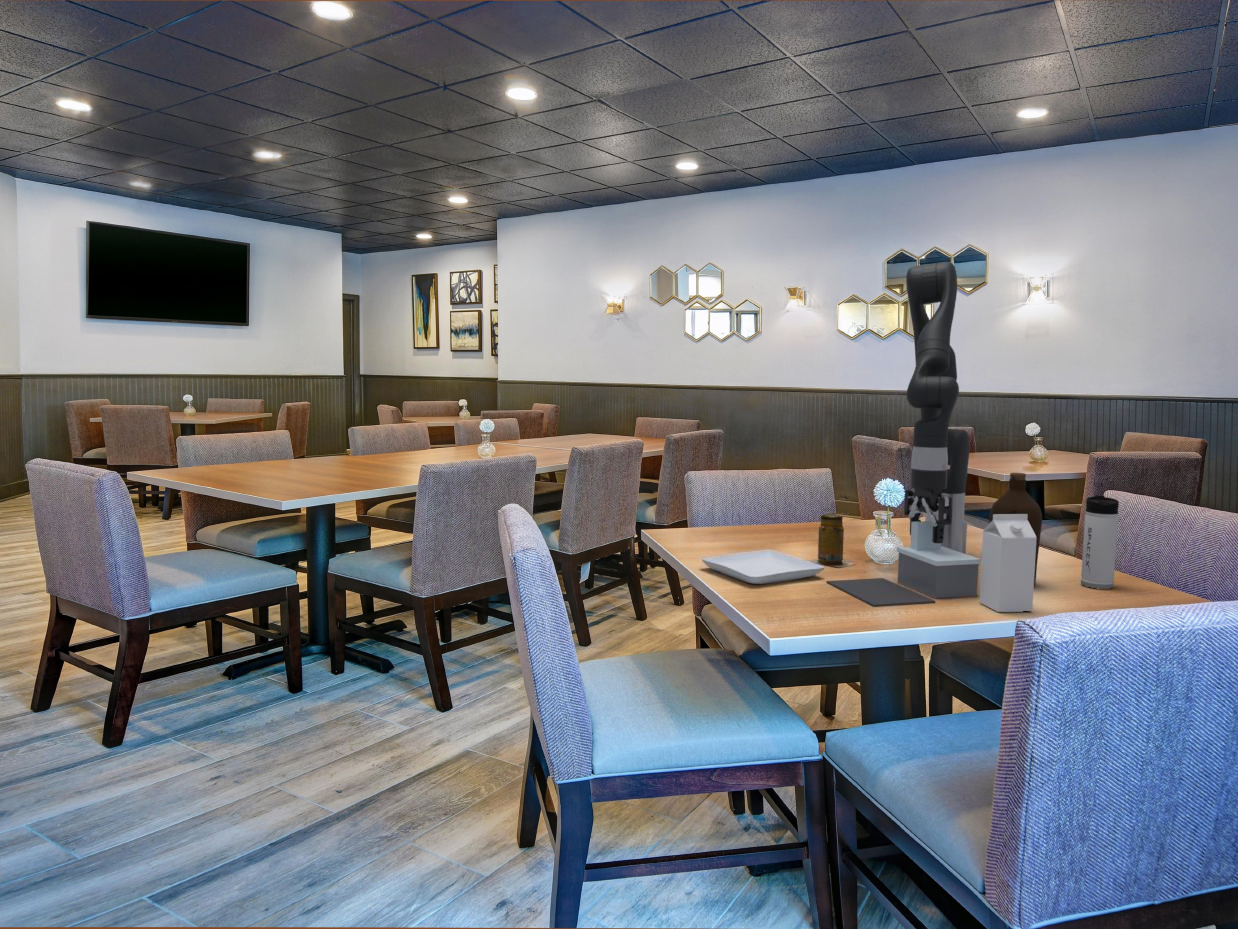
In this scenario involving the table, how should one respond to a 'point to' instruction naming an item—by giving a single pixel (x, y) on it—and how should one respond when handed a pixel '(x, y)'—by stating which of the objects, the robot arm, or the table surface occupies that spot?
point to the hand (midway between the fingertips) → (925, 539)
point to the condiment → (831, 541)
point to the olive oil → (1020, 507)
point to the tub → (938, 578)
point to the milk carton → (1008, 564)
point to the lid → (933, 548)
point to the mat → (880, 592)
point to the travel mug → (1099, 542)
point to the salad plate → (763, 566)
